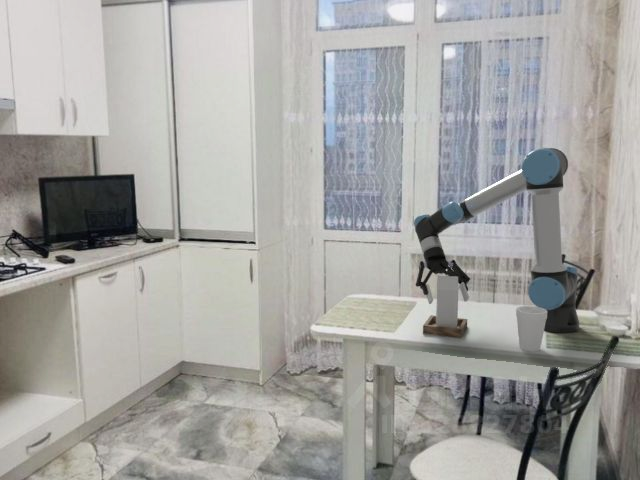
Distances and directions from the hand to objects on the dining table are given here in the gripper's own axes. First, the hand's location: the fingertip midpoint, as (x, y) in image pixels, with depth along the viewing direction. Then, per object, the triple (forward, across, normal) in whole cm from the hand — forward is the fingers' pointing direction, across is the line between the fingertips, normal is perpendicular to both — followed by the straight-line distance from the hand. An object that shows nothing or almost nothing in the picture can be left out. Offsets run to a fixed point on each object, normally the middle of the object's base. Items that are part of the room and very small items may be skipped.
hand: (449, 300), depth 206 cm
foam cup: (+24, -19, +7) cm, 31 cm away
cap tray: (+6, 0, -10) cm, 12 cm away
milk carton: (+6, 0, -9) cm, 11 cm away
